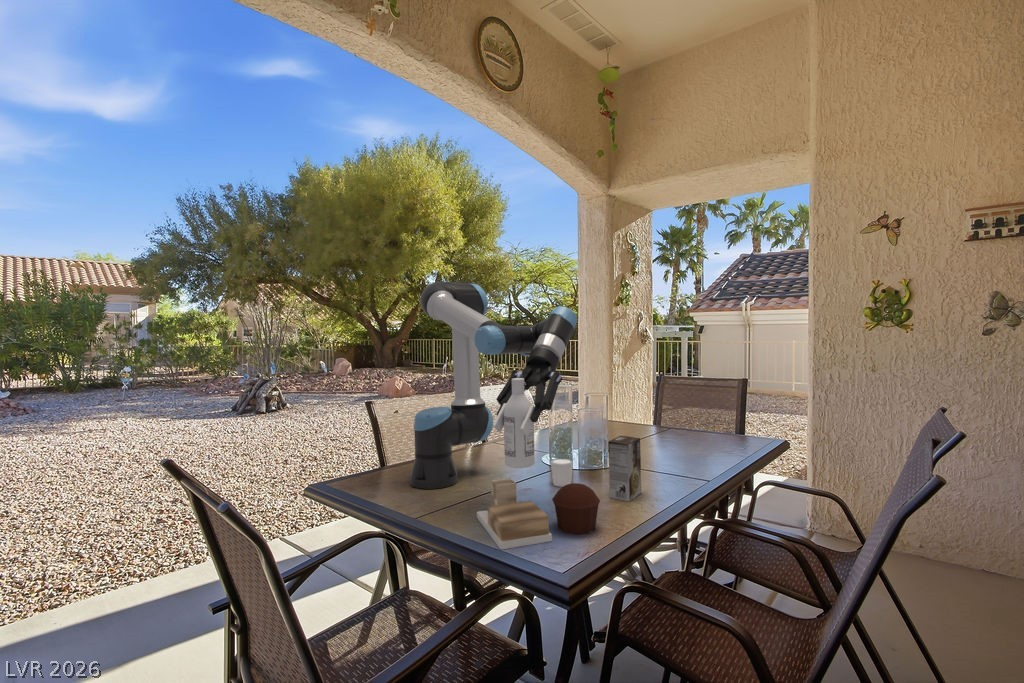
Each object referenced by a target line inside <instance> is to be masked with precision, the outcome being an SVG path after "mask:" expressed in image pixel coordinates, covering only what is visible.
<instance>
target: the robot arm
mask: <svg viewBox="0 0 1024 683" xmlns="http://www.w3.org/2000/svg"><path fill="white" fill-rule="evenodd" d="M419 298H420V299H419V301H420V302H419V303H420V306H421V310H422V311H423V313H425V314H426V316H428V317H430V318H431V319H433V320H435V321H442V322H443V323H445V324H447V325H448V326H450V327H451V335H452V336H451V337H452V359H453V360H452V362H453V381H454V382H453V383H454V386H453V387H454V400H453V401H452V402H451V403H450V407H449V406H437V407H436V406H435V407H429V408H425V409H422V410H420V411H418V412H417V413H416V414H415V415H414V421H413V422H414V423H413V424H414V425H413V431H414V462H413V464H412V468H411V470H410V471H411V472H410V476H409V485H410V486H411V487H413V488H416V489H421V490H423V489H424V490H434V489H435V490H436V489H443V488H448V487H450V486H453V485H456V484H457V483H458V481H459V475H458V470H457V467H456V465H455V463H454V462H455V461H454V459H453V453H452V452H453V448H452V447H455V446H460V445H466V444H475V443H476V444H477V443H478V442H483V441H485V440H487V439H488V438H489V436H490V435H491V433H492V431H493V428H494V430H496V433H501V432H502V430H503V429H504V410H505V406H506V404H507V402H508V400H509V398H510V397H511V395H512V379H514V378H523V379H524V392H526V391H529V389H530V388H531V387H535V393H534V394H535V396H534V398H535V399H534V402H533V404H534V405H533V404H531V406H530V408H529V411H528V413H527V415H526V417H525V419H524V421H523V423H522V426H521V428H520V429H521V430H522V432H523V433H524V435H525V436H528V435H529V433H530V430H531V428H532V426H533V424H534V425H535V423H537V422H538V420H539V418H540V417H541V414H542V412H544V411H545V410H546V411H550V410H552V408H553V405H554V402H555V401H554V400H555V398H556V394H557V392H558V387H559V385H560V384H561V383H562V380H563V377H562V375H561V373H560V371H558V370H557V368H558V366H559V364H560V361H561V359H562V357H563V355H564V352H565V350H566V348H567V346H568V344H569V342H570V340H571V338H572V336H573V333H574V332H575V329H576V325H577V323H578V317H577V315H576V313H575V312H574V311H573V310H572V309H570V308H569V307H566V306H556V307H554V308H553V309H552V311H551V312H550V313H549V315H548V317H547V318H546V319H543V320H541V321H540V322H538V323H536V324H533V325H502V324H500V323H498V322H496V321H494V320H493V319H490V318H489V317H488V316H486V313H487V311H488V307H489V306H488V305H489V303H488V297H487V293H486V291H485V290H484V288H482V287H481V286H480V285H478V284H476V283H471V282H455V281H453V282H451V281H444V280H443V281H442V280H441V281H435V282H432V283H430V284H428V285H426V287H425V288H424V289H423V290H422V293H421V295H420V297H419ZM479 353H480V354H482V355H490V356H496V355H513V354H514V355H515V354H519V355H520V356H523V357H528V358H527V360H526V366H525V367H524V368H523V369H522V370H521V371H517V370H516V369H513V370H512V371H511V373H510V377H509V379H508V380H507V382H506V383H505V384H504V387H503V388H502V390H501V391H500V392H499V394H498V396H497V397H496V401H497V403H498V404H499V405H500V406H499V408H498V410H497V412H496V418H495V420H494V416H493V413H492V410H491V409H490V408H489V407H488V406H486V401H485V400H484V399H483V398H482V397H481V383H480V360H479V359H480V358H479V357H480V356H479ZM547 382H548V384H546V383H547Z"/></svg>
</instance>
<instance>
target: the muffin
mask: <svg viewBox="0 0 1024 683" xmlns="http://www.w3.org/2000/svg"><path fill="white" fill-rule="evenodd" d="M551 500H552V502H553V504H554V508H555V515H556V521H557V527H558V530H559V531H562V532H563V533H565V534H569V535H570V534H571V535H576V536H578V535H587V534H590V533H592V532H594V531H595V530H596V525H597V517H598V511H599V505H600V502H601V500H600V498H599V497H598V495H597V494H596V493H595V491H594V490H593V489H592V488H591V487H590V486H588V485H586V484H583V483H577V482H576V483H574V482H571V484H568V485H565V486H563V487H560V489H558V491H557V492H555V494H554V496H553V497H552V499H551Z"/></svg>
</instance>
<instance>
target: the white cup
mask: <svg viewBox="0 0 1024 683" xmlns="http://www.w3.org/2000/svg"><path fill="white" fill-rule="evenodd" d="M573 462H574V461H572V460H571V459H565V458H557V459H553V460H550V466H551V467H550V469H551V477H552V485H553V486H556V487H560V488H562V487H563V486H565V485H568V484H572V479H573V475H572V474H573V466H574V463H573Z"/></svg>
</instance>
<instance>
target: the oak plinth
mask: <svg viewBox="0 0 1024 683" xmlns="http://www.w3.org/2000/svg"><path fill="white" fill-rule="evenodd" d="M487 510H488V524H489V525H490V527H491V528H492V529H493V531H494V532H495V533H496V534H497V536H498V537H499V538H500V540H501V541H508V540H514V539H520V538H527V537H533V536H539V535H545V534H549V532H550V528H549V526H550V525H549V524H550V521H549V515H548V514H547V513H546V512H545V511H543V510H542V509H541V508H540V507H539V506H537V505H536V504H535V503H534V502H533V501H532V500H528V501H527V500H526V501H519V502H518V501H517V503H511V504H503V505H496V506H492V505H490V506H487Z"/></svg>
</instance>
